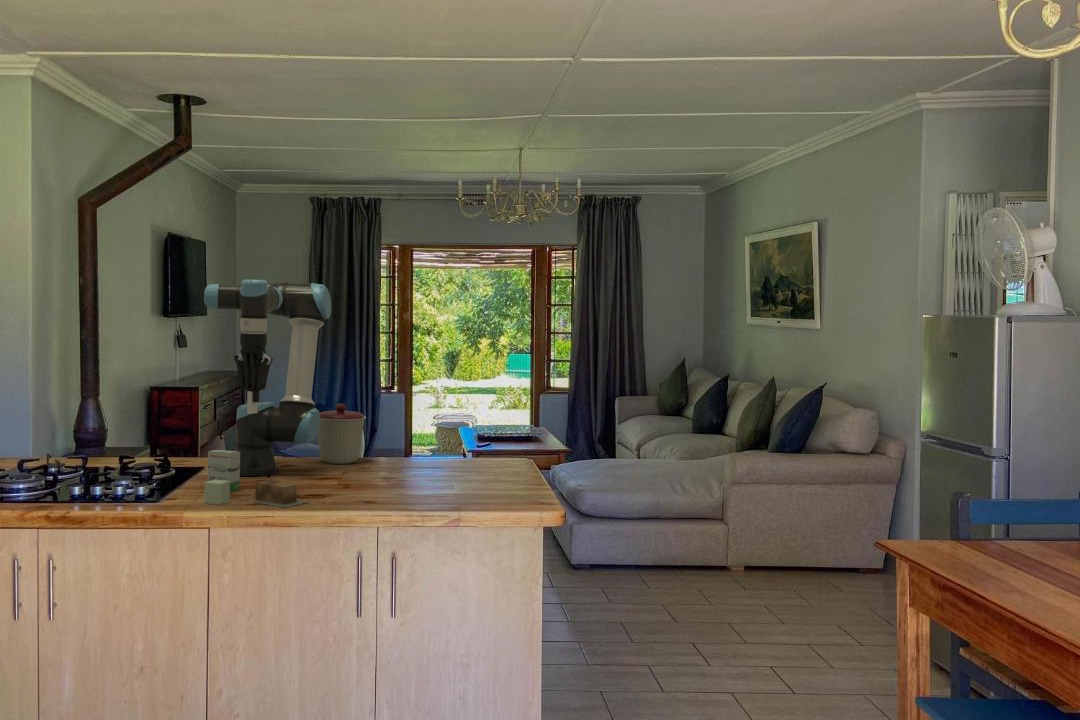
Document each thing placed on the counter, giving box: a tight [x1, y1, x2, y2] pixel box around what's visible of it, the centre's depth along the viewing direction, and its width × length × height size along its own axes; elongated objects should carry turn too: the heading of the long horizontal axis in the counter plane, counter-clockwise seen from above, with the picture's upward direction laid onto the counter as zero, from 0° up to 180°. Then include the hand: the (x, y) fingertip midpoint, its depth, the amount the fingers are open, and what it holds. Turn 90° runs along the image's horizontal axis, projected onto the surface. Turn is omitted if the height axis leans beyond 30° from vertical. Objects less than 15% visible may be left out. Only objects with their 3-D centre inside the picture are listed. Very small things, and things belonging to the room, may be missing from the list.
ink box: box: [206, 449, 241, 493], centre depth 311 cm, size 9×5×12 cm, turn 71°
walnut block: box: [254, 479, 298, 505], centre depth 297 cm, size 5×5×11 cm
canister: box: [317, 403, 367, 465], centre depth 368 cm, size 18×18×21 cm
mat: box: [252, 499, 307, 509], centre depth 296 cm, size 12×10×1 cm
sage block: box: [203, 480, 231, 506], centre depth 293 cm, size 5×5×6 cm
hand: (252, 413), depth 301 cm, fingers closed
